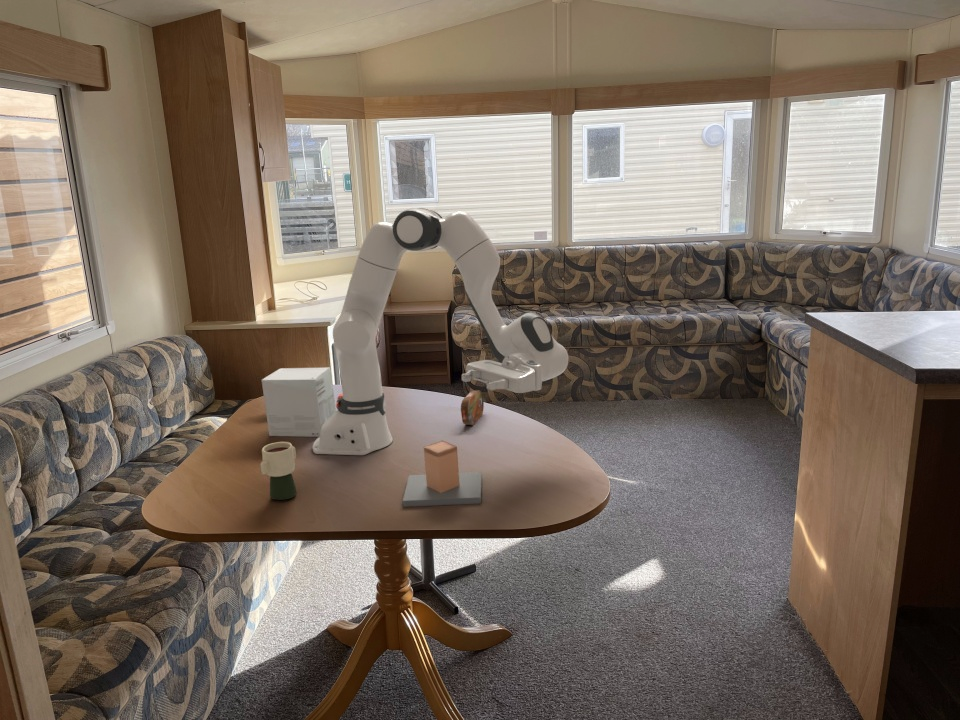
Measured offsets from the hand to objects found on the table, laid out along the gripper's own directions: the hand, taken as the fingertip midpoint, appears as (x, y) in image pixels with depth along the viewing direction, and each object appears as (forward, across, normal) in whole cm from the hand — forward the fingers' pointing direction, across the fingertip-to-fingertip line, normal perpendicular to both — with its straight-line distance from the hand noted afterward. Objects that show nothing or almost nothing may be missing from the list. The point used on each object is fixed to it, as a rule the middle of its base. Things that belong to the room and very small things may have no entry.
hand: (475, 382), depth 170 cm
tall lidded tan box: (+11, 0, +23) cm, 26 cm away
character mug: (+40, -26, +26) cm, 54 cm away
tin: (-25, -33, +25) cm, 48 cm away
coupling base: (+11, 0, +25) cm, 27 cm away
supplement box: (+15, -66, +26) cm, 72 cm away
